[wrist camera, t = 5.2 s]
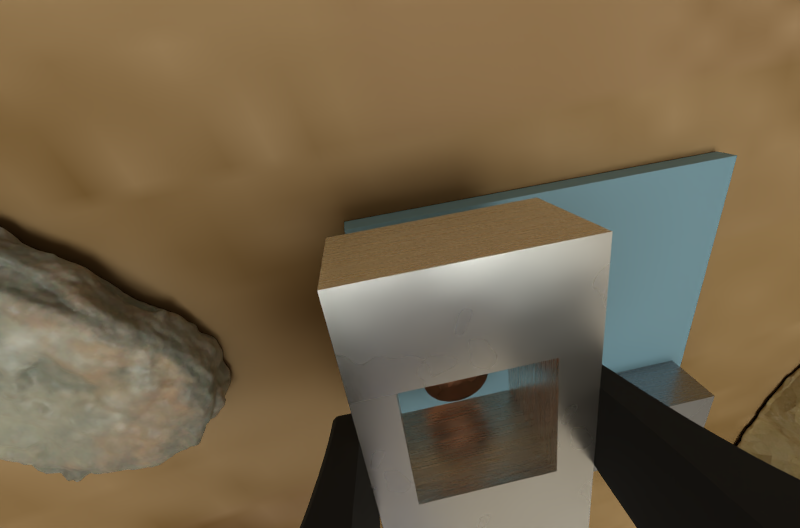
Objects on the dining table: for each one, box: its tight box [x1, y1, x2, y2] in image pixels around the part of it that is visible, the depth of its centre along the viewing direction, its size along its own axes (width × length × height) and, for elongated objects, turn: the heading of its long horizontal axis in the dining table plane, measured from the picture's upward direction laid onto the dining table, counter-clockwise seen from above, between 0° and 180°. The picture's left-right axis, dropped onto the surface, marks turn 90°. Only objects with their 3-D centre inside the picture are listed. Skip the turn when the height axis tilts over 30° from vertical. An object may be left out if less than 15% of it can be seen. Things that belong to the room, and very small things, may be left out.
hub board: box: [344, 152, 737, 414], centre depth 17 cm, size 16×14×1 cm
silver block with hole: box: [317, 198, 613, 528], centre depth 10 cm, size 6×9×3 cm, turn 9°
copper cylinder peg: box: [425, 374, 488, 402], centre depth 13 cm, size 2×2×3 cm
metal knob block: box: [593, 361, 714, 471], centre depth 16 cm, size 3×8×5 cm, turn 98°
